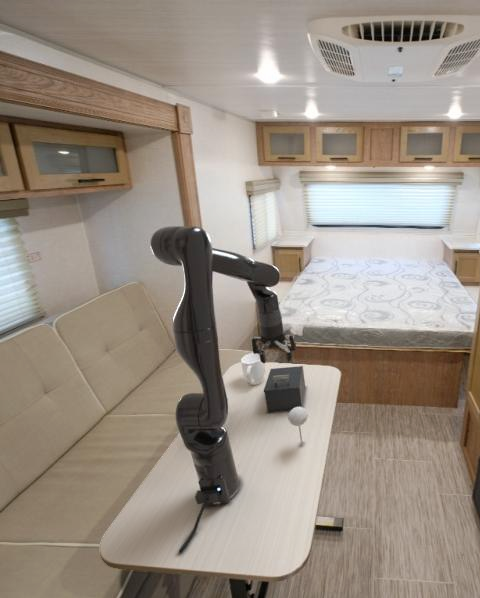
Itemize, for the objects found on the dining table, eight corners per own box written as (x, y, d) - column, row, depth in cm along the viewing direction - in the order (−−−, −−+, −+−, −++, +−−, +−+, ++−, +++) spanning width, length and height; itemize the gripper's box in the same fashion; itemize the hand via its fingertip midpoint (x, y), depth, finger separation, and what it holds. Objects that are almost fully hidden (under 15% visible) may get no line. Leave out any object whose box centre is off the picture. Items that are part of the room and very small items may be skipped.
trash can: (302, 409, 131) (299, 388, 127) (268, 412, 129) (264, 391, 125) (305, 387, 143) (303, 367, 140) (274, 390, 141) (271, 370, 138)
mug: (249, 376, 151) (244, 352, 146) (269, 374, 152) (265, 351, 147) (240, 392, 140) (235, 368, 135) (262, 391, 141) (258, 366, 136)
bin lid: (299, 389, 126) (297, 378, 125) (263, 392, 125) (261, 381, 123) (303, 367, 140) (301, 357, 138) (270, 370, 138) (269, 359, 136)
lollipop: (313, 438, 117) (309, 403, 111) (307, 452, 112) (303, 415, 106) (296, 437, 118) (291, 402, 112) (289, 450, 112) (283, 414, 106)
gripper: (245, 327, 112) (253, 369, 118) (290, 324, 114) (296, 365, 121) (251, 317, 119) (258, 357, 125) (293, 314, 121) (298, 354, 127)
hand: (276, 361), depth 123 cm, fingers open, 8 cm apart
